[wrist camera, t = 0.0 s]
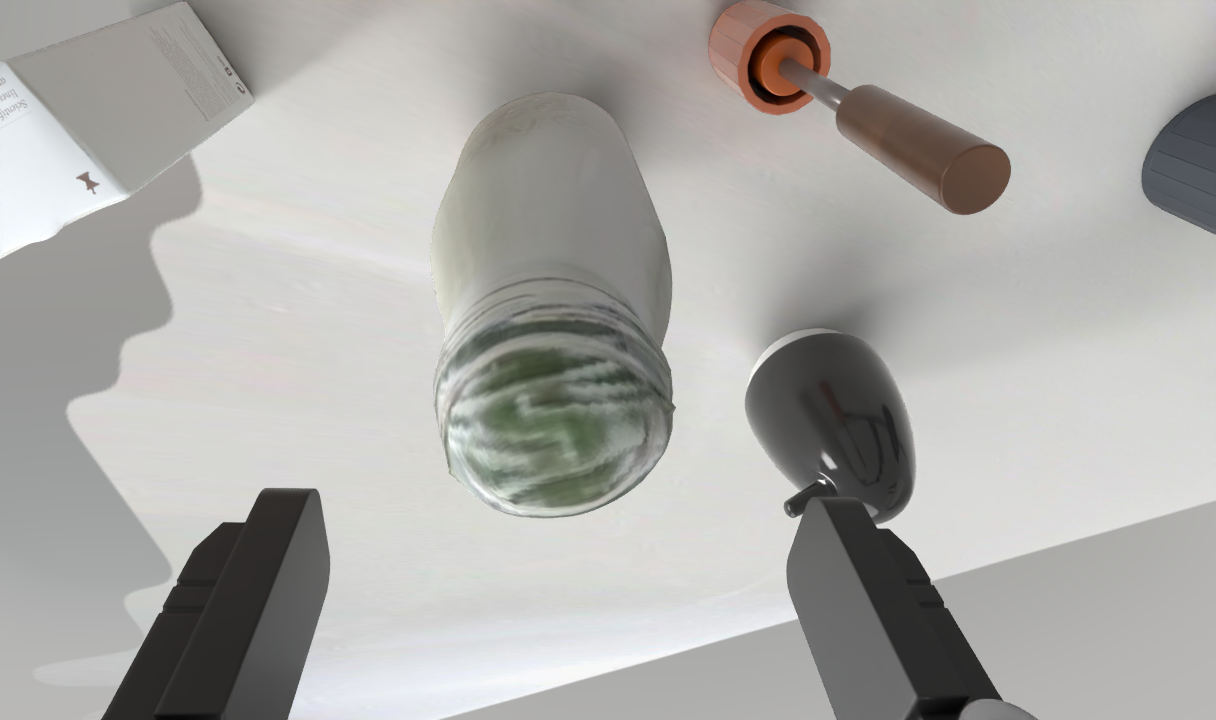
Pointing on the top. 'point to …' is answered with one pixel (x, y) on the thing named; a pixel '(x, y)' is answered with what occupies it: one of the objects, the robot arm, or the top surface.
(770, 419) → the dark egg shaped ornament
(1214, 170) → the steel bottle
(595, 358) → the pale grey bottle
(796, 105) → the cup
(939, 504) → the top surface
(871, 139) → the bottle brush
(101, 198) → the cosmetic box
